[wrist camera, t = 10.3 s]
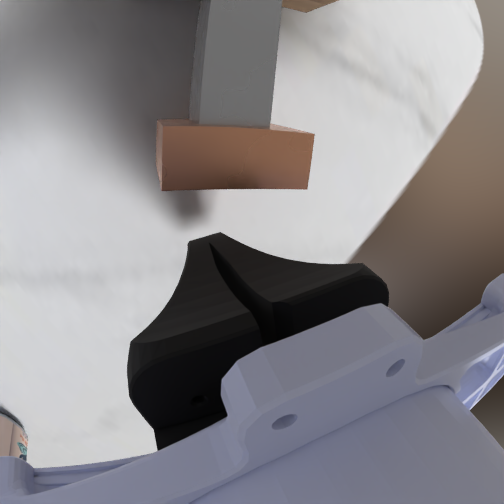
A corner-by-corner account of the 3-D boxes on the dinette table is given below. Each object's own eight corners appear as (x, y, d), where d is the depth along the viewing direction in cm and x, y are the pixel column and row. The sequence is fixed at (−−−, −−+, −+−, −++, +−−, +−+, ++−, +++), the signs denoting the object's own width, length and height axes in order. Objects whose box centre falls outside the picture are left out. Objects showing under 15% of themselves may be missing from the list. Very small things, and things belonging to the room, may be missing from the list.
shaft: (155, 163, 10) (161, 191, 7) (181, -71, 6) (201, -121, 3) (262, 163, 12) (306, 189, 9) (283, -55, 8) (331, -90, 5)
